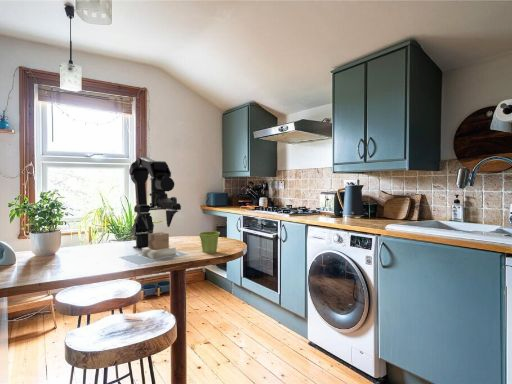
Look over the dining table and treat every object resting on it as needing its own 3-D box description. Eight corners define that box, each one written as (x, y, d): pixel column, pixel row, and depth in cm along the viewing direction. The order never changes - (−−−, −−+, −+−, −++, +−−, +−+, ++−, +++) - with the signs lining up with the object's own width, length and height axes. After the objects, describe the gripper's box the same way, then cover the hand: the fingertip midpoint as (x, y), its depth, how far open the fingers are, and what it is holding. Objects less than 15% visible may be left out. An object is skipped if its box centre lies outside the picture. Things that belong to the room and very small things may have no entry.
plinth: (141, 255, 130) (141, 248, 130) (163, 251, 137) (163, 244, 137) (153, 259, 123) (153, 251, 123) (175, 254, 131) (175, 247, 130)
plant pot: (206, 256, 131) (205, 235, 131) (194, 252, 138) (194, 232, 138) (224, 252, 137) (224, 233, 137) (212, 249, 144) (212, 230, 144)
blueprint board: (119, 258, 127) (118, 257, 126) (166, 250, 143) (166, 248, 143) (138, 266, 115) (138, 264, 115) (188, 255, 131) (188, 254, 131)
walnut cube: (148, 248, 130) (148, 233, 130) (161, 245, 134) (161, 232, 134) (155, 250, 126) (155, 235, 126) (168, 247, 130) (168, 233, 130)
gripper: (146, 191, 118) (147, 232, 118) (188, 190, 131) (188, 227, 132) (133, 191, 125) (133, 229, 126) (173, 190, 139) (174, 225, 139)
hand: (158, 228), depth 131 cm, fingers open, 9 cm apart
